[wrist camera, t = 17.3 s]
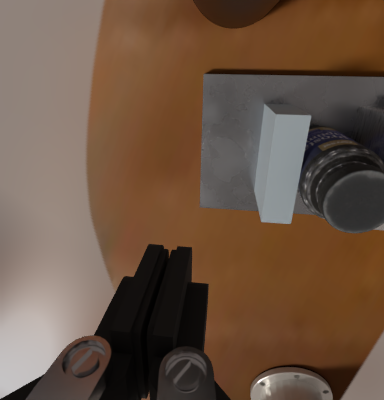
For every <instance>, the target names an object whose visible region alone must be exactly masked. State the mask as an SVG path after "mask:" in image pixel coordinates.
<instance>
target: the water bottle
mask: <svg viewBox="0 0 384 400" xmlns="http://www.w3.org/2000/svg"><path fill="white" fill-rule="evenodd" d="M193 1H194V3H195V4H196V6H197V7H198V9H199V10H200V12H201V13H202V14H203V15H204V16H205V17H206V18H207V19H208V20H210V21H211V22H213V23H214V24H216V25H219V26H221V27H225V28H242V27H246V26H249V25H251V24H254V23H255V22H257V21H259V20H260V19H262V18H263V17H264V16H265V15H266V14H267V13H268V12H269V11H270V10H271V9H272V8H273V7H274V6H275V5H276V4H277V3H278V2H279V1H280V0H193Z"/></svg>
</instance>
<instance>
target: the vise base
mask: <svg viewBox="0 0 384 400" xmlns="http://www.w3.org/2000/svg"><path fill="white" fill-rule="evenodd" d="M264 104H291V105H293V106H295V107H297V108H299V109H301V110H302V111H304V112H306V113H308V114H310V115H311V120H310V126H309V128H312V127H317V126H325V127H328V128H332V129H335V130H337V131H339V132H340V133H342V134H344V135H346V136H347V137H349V138H351V139H352V140H354V141H356V142H357V143H359V144H361V145H363V146H364V147H366V148H368V149H370V150H371V151H373V152H374V153H376V154H377V155H378V156H379V157H380V159H381V160H382V161H383V163H384V77H358V76H300V75H242V74H204V82H203V116H202V150H201V184H200V207H203V208H219V209H234V210H250V211H259V210H258V205H257V201H256V196H255V192H254V188H255V179H256V171H257V162H258V154H259V146H260V137H261V129H262V120H263V112H264ZM293 213H296V214H312V215H315V214H314V213H312V212H311V211H310V210H309V209H308V208H307V206H306V205H305V204H304V202H303V200H302V198H301V196H300V194H299V192H298V191H297V194H296V199H295V204H294V210H293ZM374 230H384V224H382V225H381V226H379V227H377V228H375V229H374Z"/></svg>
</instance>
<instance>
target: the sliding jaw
mask: <svg viewBox="0 0 384 400" xmlns="http://www.w3.org/2000/svg"><path fill="white" fill-rule="evenodd" d="M310 120H311V115H310V114H308V113H306V112H304V111H302V110H301V109H299V108H297V107H295V106H293V105H291V104H264V112H263V120H262V129H261V137H260V146H259V154H258V162H257V171H256V179H255V188H254V192H255V196H256V201H257V205H258V210H259V214H260V219H261V222H271V223H286V224H291V220H292V215H293V210H294V204H295V199H296V194H297V189H298V183H299V178H300V173H301V168H302V162H303V157H304V152H305V147H306V141H307V136H308V131H309V126H310Z"/></svg>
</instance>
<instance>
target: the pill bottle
mask: <svg viewBox="0 0 384 400" xmlns="http://www.w3.org/2000/svg"><path fill="white" fill-rule="evenodd" d="M297 191H298V192H299V194H300V196H301V198H302V200H303V202H304V204H305V205H306V206H307V208H308V209H309V210H310V211H311V212H312V213H314V214H315V215H317V216H319V217H321V218H324V219H325V220H326V221H327V222H328V223H329V224H330V225H331V226H332V227H334V228H336V229H338V230H340V231H343V232H347V233H362V232H367V231H370V230H373V229H375V228H377V227H379V226H381V225H382V224H384V163H383V161H382V160H381V159H380V157H379V156H378V155H377V154H376V153H374V152H373V151H371V150H370V149H368V148H366V147H364V146H363V145H361V144H359V143H357V142H356V141H354V140H352V139H351V138H349V137H347V136H346V135H344V134H342V133H340V132H339V131H337V130H335V129H332V128H328V127H325V126H317V127H312V128H309V131H308V136H307V141H306V147H305V152H304V157H303V162H302V168H301V173H300V178H299V183H298V189H297Z"/></svg>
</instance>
